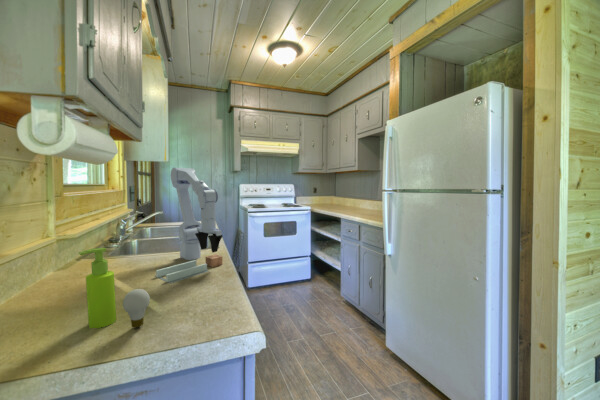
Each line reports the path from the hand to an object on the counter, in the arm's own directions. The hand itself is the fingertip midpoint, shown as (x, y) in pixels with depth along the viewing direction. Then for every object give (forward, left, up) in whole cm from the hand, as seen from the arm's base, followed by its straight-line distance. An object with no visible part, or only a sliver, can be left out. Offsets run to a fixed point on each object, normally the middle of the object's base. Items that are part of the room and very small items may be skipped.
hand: (209, 250), depth 112 cm
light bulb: (+24, -38, -8) cm, 46 cm away
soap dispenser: (+14, -43, -8) cm, 46 cm away
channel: (0, -12, -8) cm, 14 cm away
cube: (0, 0, -6) cm, 6 cm away
